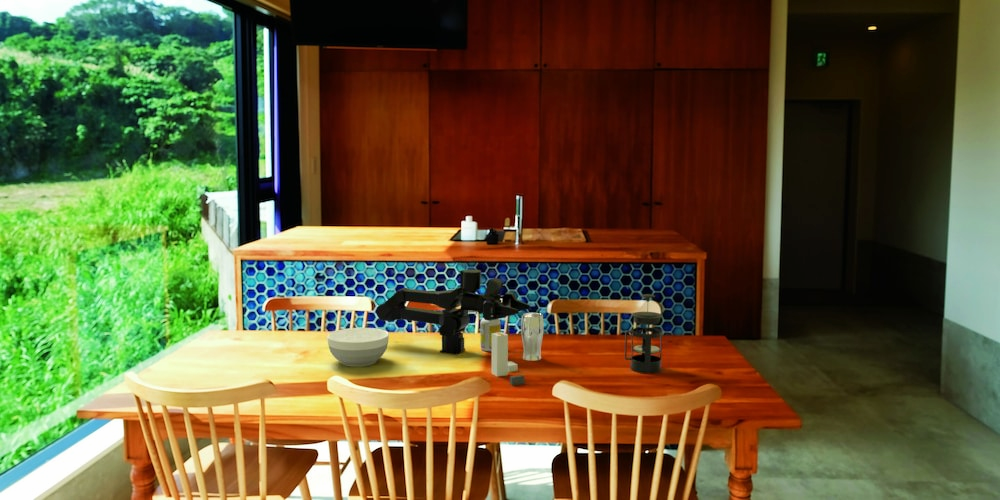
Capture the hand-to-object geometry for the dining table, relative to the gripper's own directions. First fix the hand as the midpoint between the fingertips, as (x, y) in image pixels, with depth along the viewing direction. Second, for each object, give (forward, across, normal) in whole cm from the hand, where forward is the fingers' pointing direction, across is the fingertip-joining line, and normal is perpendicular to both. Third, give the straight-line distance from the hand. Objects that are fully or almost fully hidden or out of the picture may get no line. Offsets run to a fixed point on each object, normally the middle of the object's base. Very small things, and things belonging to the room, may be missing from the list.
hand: (524, 309), depth 259 cm
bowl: (-46, -22, +19) cm, 54 cm away
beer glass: (+3, +1, +17) cm, 17 cm away
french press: (+37, +8, +15) cm, 41 cm away
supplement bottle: (-15, +9, +17) cm, 24 cm away
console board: (+3, -21, +17) cm, 27 cm away
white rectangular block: (+1, -20, +16) cm, 25 cm away
